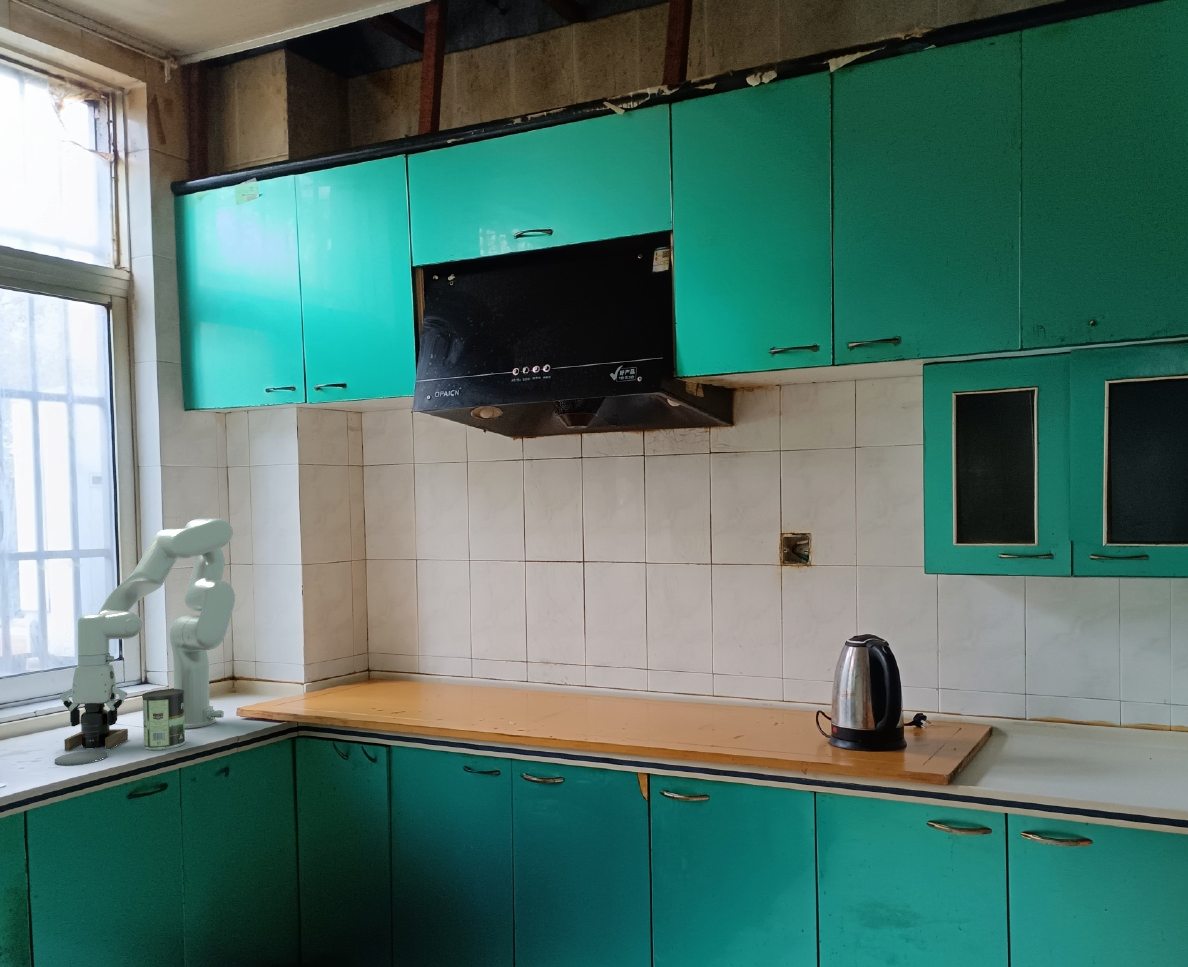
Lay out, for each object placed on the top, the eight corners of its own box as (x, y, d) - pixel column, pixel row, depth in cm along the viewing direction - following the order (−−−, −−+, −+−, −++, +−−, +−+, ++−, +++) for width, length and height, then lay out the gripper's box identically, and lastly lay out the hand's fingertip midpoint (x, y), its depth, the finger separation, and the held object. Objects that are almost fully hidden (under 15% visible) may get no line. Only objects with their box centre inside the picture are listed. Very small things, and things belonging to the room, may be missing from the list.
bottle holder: (127, 739, 273) (127, 728, 273) (109, 749, 263) (109, 738, 263) (84, 741, 273) (84, 730, 273) (64, 751, 263) (64, 739, 263)
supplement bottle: (88, 743, 270) (87, 699, 271) (114, 742, 271) (113, 697, 271) (77, 749, 264) (76, 704, 264) (103, 748, 264) (102, 703, 264)
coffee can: (181, 738, 273) (180, 687, 273) (188, 746, 264) (187, 692, 264) (140, 744, 267) (139, 692, 268) (146, 752, 259) (145, 697, 259)
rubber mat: (116, 752, 260) (116, 750, 260) (93, 764, 248) (93, 762, 248) (69, 753, 259) (69, 751, 259) (45, 766, 247) (45, 763, 247)
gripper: (132, 658, 272) (132, 721, 271) (68, 659, 271) (68, 722, 271) (119, 662, 264) (120, 727, 264) (53, 663, 264) (53, 728, 263)
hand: (93, 725), depth 267 cm, fingers open, 9 cm apart
